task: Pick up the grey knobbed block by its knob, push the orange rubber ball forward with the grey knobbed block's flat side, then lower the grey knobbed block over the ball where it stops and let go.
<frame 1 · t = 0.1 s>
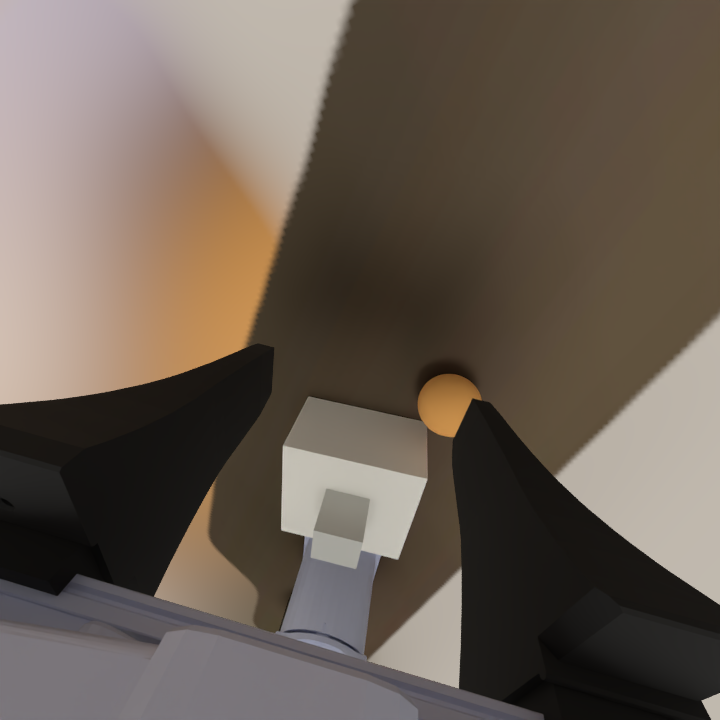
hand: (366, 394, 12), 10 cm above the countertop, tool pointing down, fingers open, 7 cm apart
grey knobbed block: (358, 451, 27), on the countertop
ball: (449, 404, 21), on the countertop
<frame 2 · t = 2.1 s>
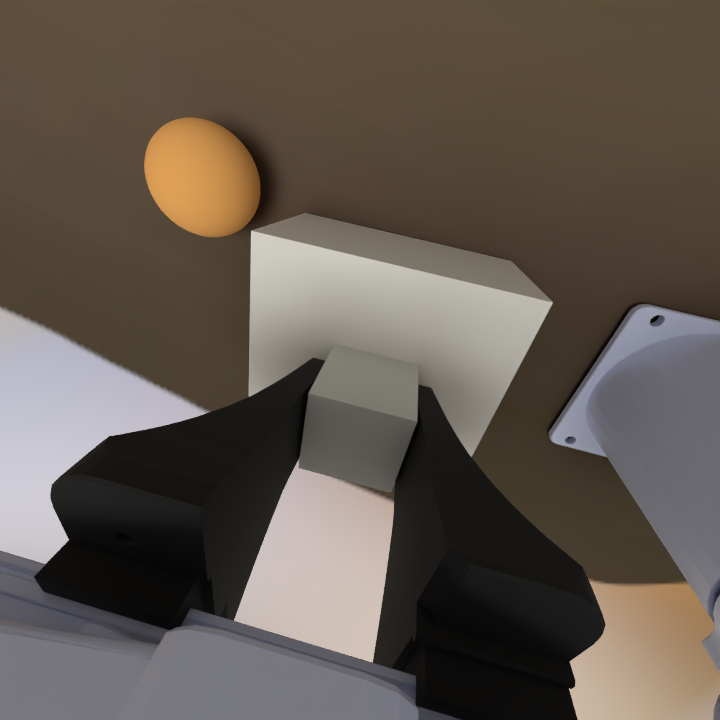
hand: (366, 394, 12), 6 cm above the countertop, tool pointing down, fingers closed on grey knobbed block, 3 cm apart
grey knobbed block: (383, 329, 17), on the countertop, touching gripper
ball: (206, 181, 13), on the countertop
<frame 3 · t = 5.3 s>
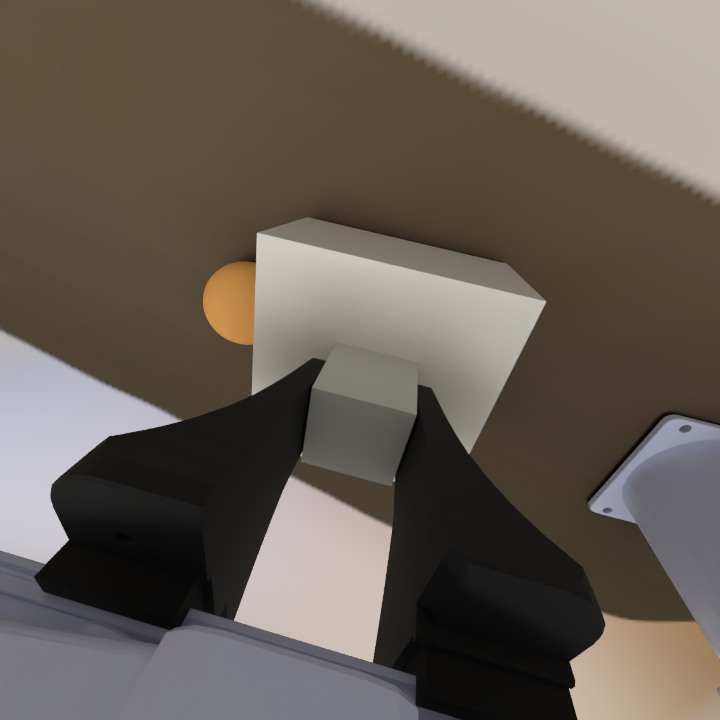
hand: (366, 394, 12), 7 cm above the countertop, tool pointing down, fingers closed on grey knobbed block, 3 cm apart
grey knobbed block: (382, 331, 17), point 1 cm above the countertop, touching gripper
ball: (248, 303, 16), on the countertop
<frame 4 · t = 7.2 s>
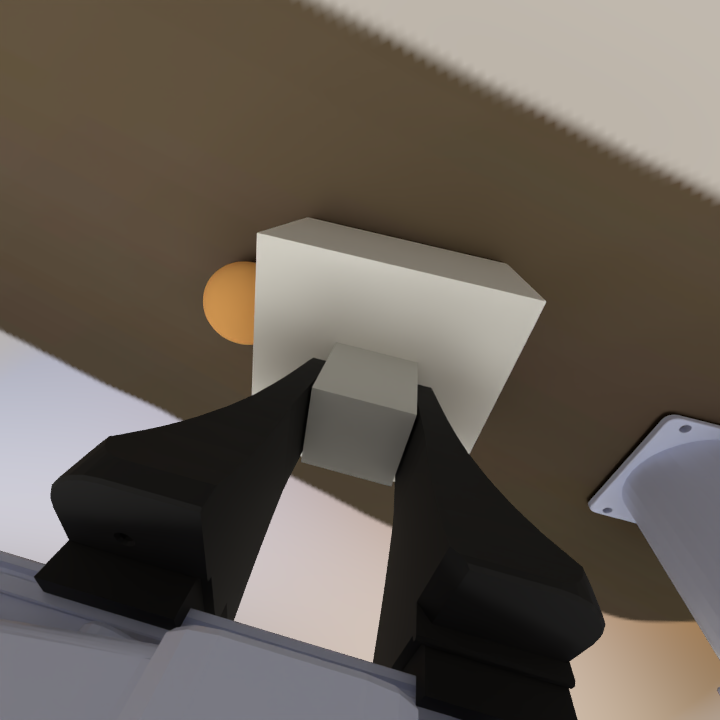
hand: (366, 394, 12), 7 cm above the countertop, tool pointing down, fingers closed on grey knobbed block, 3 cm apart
grey knobbed block: (382, 331, 17), point 1 cm above the countertop, touching gripper
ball: (248, 303, 16), on the countertop
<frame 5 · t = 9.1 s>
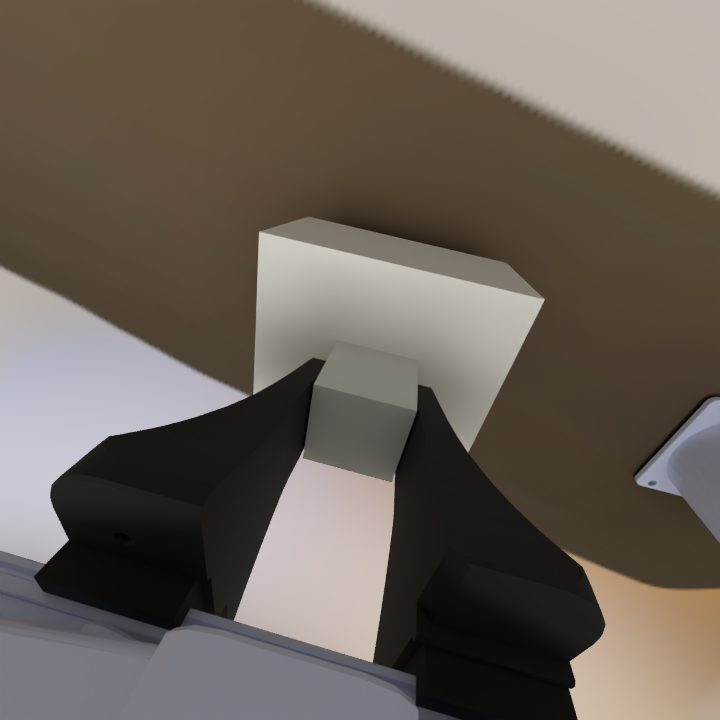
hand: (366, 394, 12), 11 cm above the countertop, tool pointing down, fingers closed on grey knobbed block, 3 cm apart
grey knobbed block: (383, 329, 17), point 4 cm above the countertop, touching gripper
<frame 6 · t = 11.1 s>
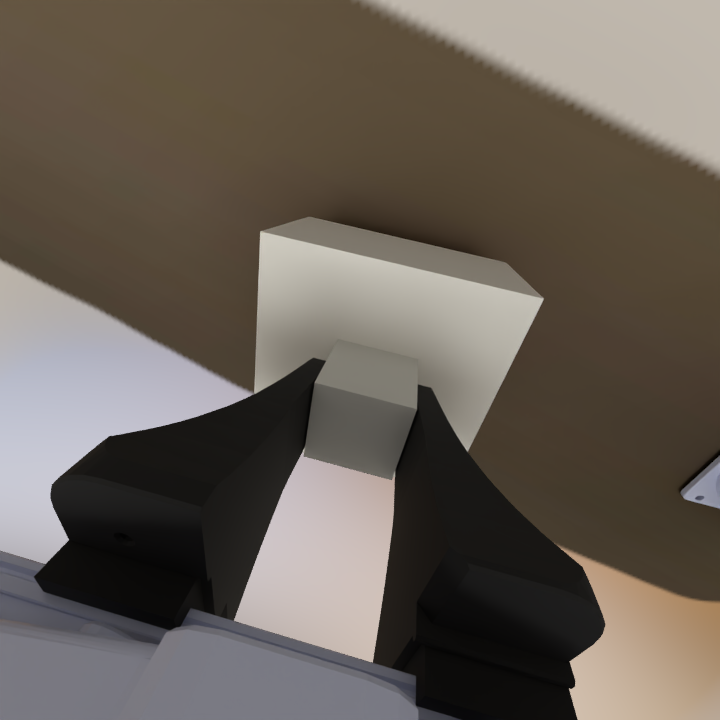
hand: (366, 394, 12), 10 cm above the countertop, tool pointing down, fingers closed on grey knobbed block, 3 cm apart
grey knobbed block: (383, 329, 17), point 4 cm above the countertop, touching gripper
when the fingers open (6 cm above the countertop, at t = 12.2 s): grey knobbed block stays where it is, on the countertop.
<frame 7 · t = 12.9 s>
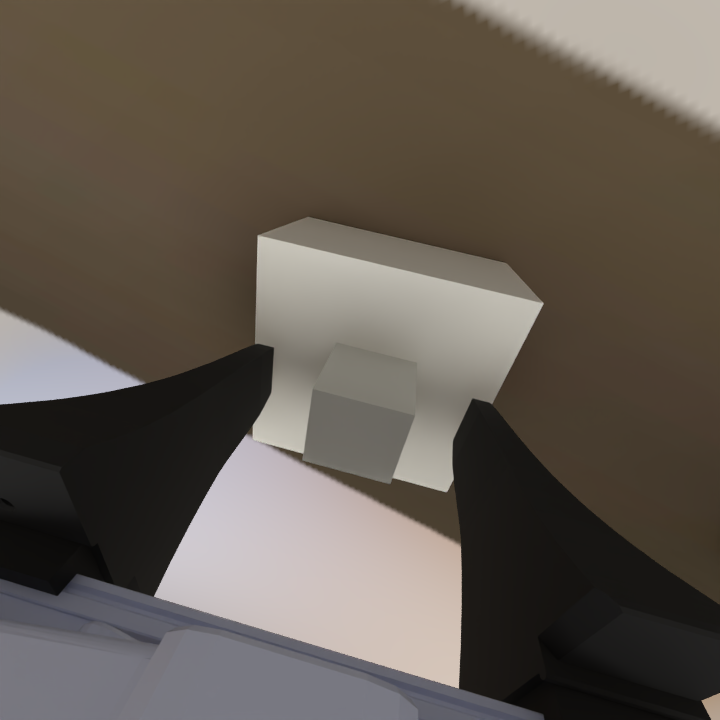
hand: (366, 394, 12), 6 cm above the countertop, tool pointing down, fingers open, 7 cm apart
grey knobbed block: (383, 329, 17), on the countertop
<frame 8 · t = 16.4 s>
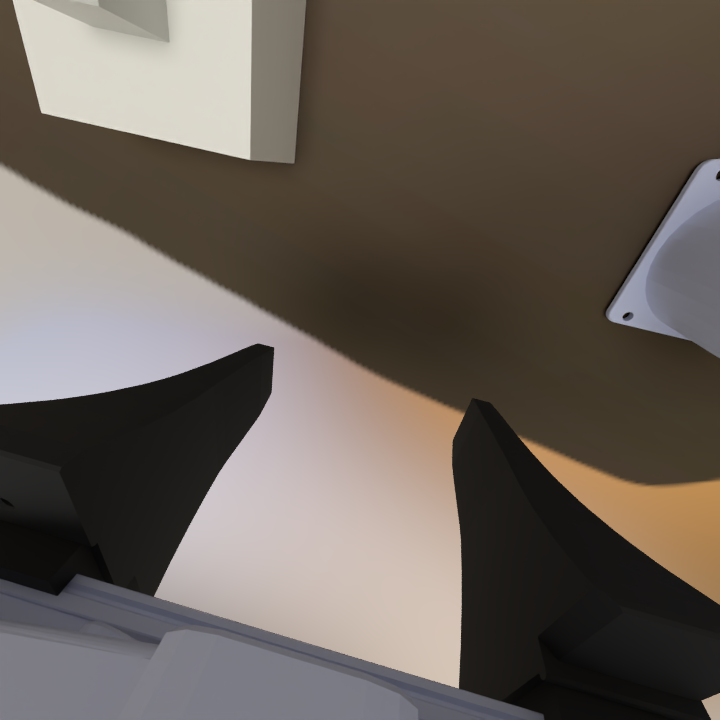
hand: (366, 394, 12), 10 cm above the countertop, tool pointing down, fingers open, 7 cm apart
grey knobbed block: (210, 32, 16), on the countertop
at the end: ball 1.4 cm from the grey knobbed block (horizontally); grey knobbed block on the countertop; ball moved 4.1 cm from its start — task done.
